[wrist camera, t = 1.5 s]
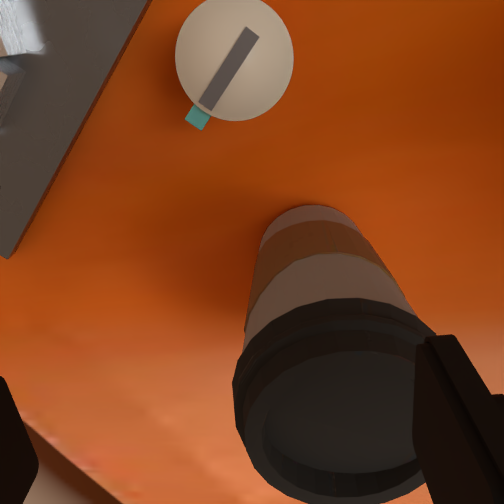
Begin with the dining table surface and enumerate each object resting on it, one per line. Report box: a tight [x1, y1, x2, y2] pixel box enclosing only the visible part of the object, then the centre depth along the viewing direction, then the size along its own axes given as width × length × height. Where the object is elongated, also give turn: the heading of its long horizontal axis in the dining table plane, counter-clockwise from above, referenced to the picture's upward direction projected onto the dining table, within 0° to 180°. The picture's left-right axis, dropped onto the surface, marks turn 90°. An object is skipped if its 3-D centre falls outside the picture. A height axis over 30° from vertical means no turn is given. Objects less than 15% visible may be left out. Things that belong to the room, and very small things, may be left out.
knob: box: [175, 0, 294, 131], centre depth 21 cm, size 5×4×8 cm
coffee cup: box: [232, 205, 437, 504], centre depth 23 cm, size 8×8×15 cm
